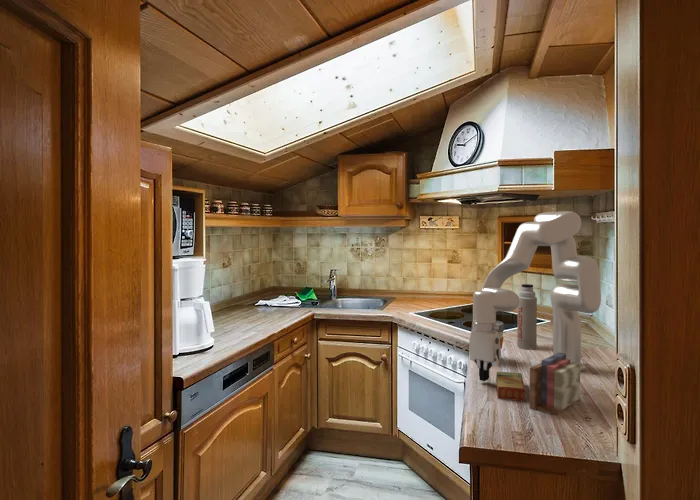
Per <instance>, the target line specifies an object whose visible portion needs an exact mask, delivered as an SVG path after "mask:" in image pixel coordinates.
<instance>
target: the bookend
mask: <svg viewBox="0 0 700 500" xmlns="http://www.w3.org/2000/svg"><path fill="white" fill-rule="evenodd" d="M580 395H581V371H580V363H577V362H572V363H570V360H569V359H566V354H564V353H557V354H555V355H553V354H552V355H550V356H548V357H546V358H544V359H541V362H540V363H538V364H535V365H533V366H531V367H529V409H531V410H534V411H535V410H538V411H539V410H540V411H542V412H546V413H550V414H552V415H556V416H557V415H559V414H560V413H562V412H564V411H566V410H567V409H569V408H570V407H571V406H573V405H575V404H577V403H578V402H580V401H581V397H580Z"/></svg>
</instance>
